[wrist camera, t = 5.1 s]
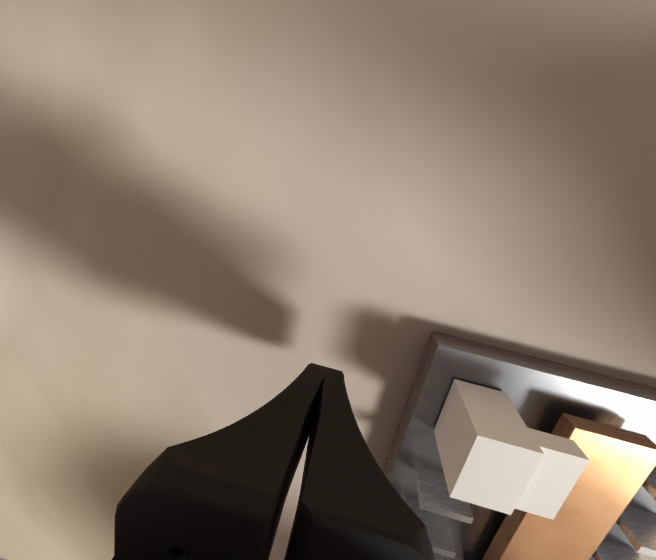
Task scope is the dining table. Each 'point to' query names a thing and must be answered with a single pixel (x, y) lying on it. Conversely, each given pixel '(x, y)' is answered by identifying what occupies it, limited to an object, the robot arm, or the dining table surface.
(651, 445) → the brown flat bar
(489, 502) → the white stepped block
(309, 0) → the dining table surface
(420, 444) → the heatsink
